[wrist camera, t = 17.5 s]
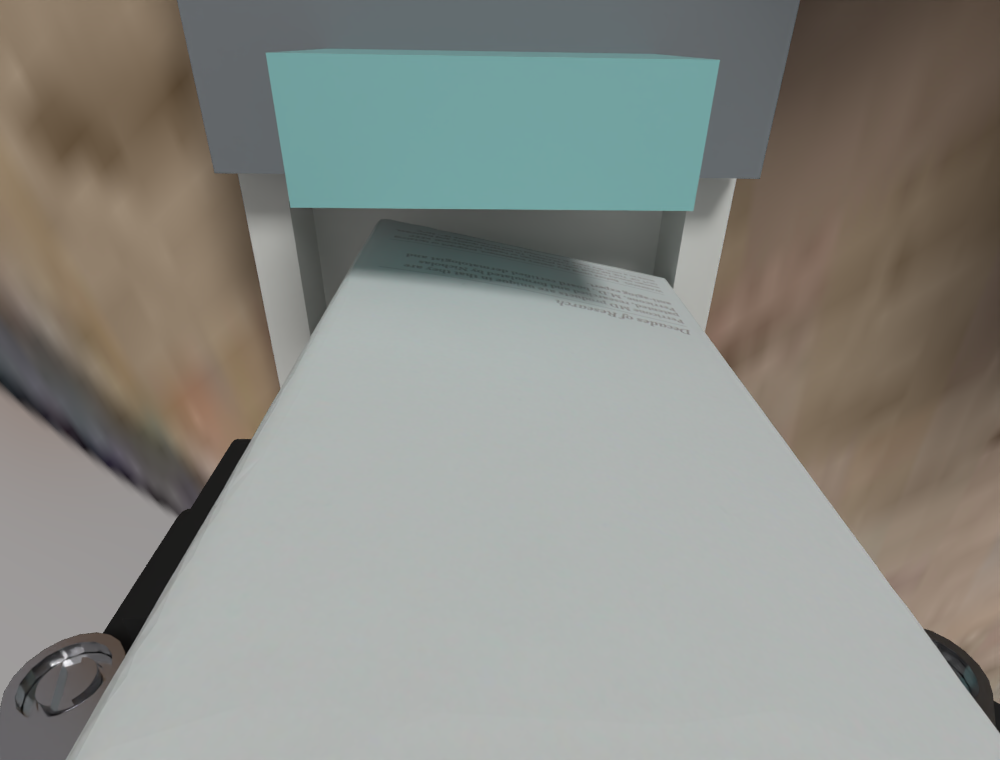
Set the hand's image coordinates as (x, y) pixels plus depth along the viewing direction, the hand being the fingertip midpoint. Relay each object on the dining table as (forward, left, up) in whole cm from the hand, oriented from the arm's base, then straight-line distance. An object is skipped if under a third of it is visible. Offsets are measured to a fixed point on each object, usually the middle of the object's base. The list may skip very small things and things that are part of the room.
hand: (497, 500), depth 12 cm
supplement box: (0, 0, -5) cm, 5 cm away
